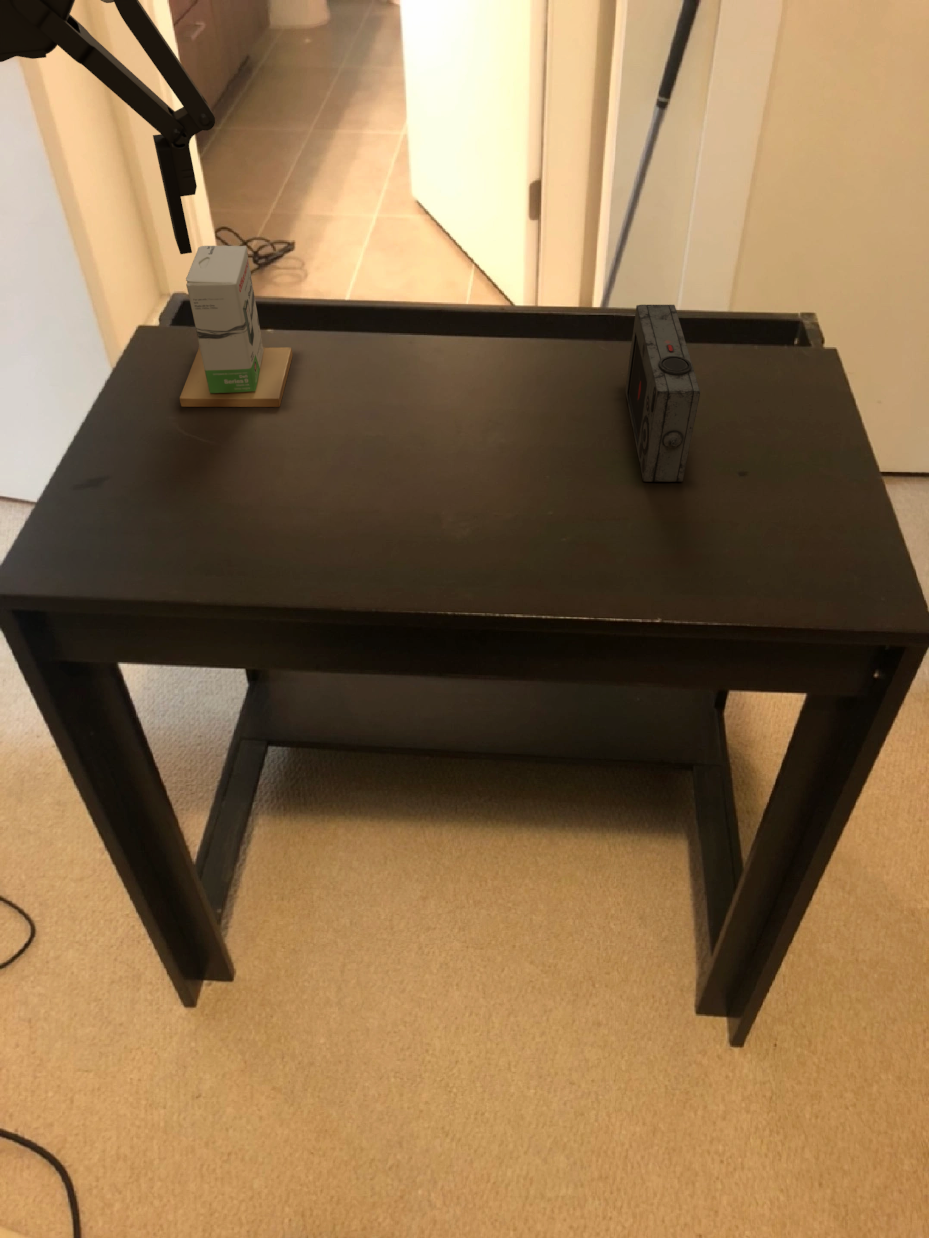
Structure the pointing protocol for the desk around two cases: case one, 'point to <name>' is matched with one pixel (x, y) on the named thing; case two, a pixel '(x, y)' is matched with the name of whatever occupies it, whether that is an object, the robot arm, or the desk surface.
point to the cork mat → (265, 395)
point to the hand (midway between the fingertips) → (77, 261)
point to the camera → (661, 393)
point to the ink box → (225, 318)
